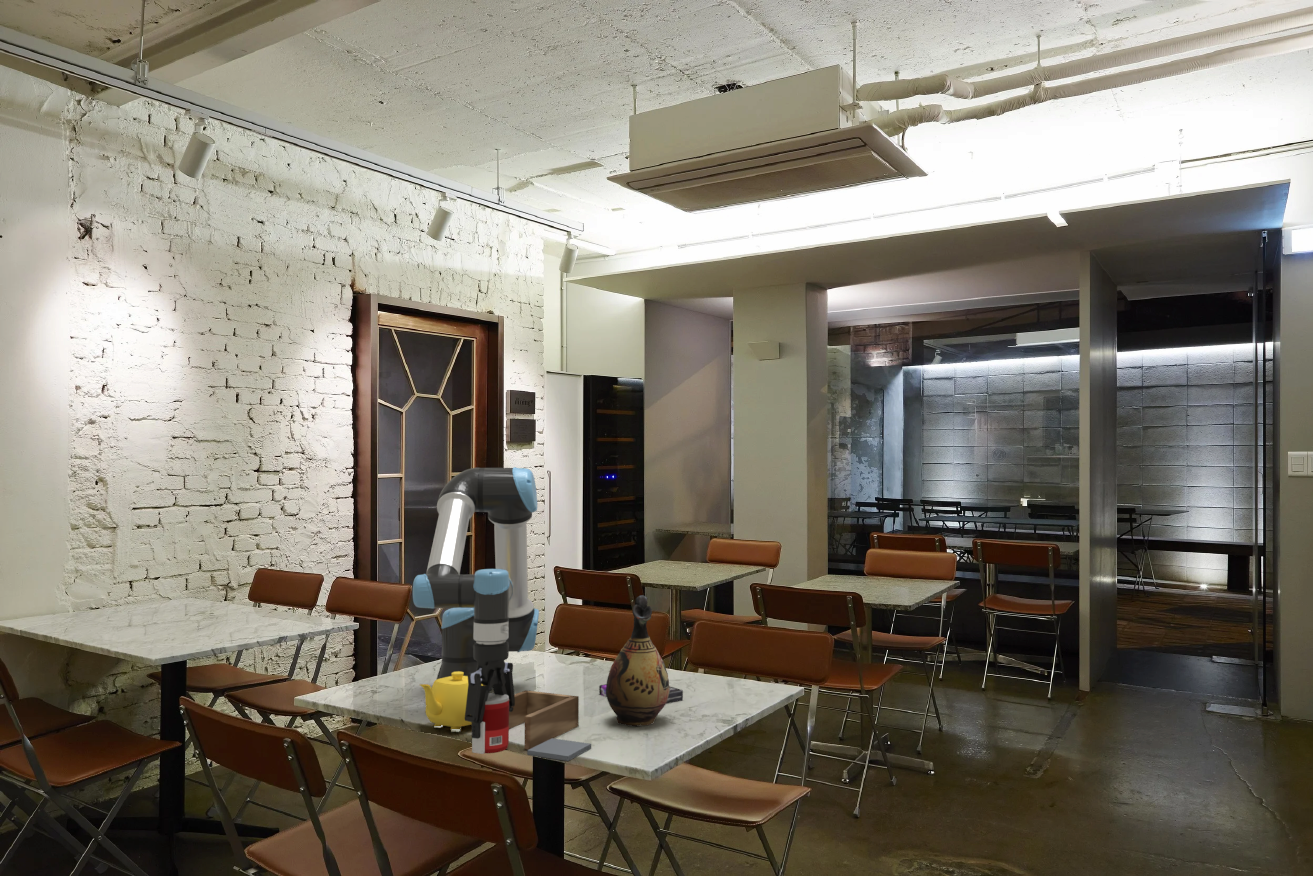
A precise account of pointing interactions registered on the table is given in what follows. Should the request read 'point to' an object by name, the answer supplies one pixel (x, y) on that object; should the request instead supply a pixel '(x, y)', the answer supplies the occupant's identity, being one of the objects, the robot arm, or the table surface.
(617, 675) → the ceramic jug
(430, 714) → the teapot
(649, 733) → the table surface
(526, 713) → the shelf
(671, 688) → the box
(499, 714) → the canned food
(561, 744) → the coaster
